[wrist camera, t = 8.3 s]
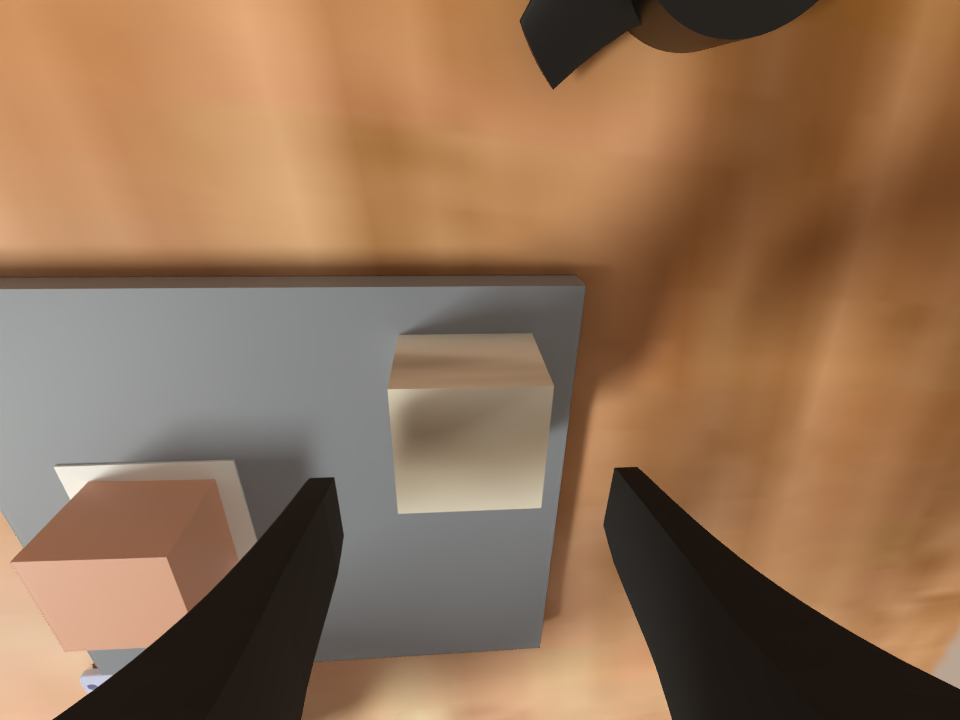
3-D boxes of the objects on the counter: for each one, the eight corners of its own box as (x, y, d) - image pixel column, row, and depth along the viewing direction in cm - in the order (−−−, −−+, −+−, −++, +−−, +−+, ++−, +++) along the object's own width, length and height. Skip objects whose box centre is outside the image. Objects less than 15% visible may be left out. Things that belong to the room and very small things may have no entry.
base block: (238, 561, 20) (200, 645, 17) (125, 565, 20) (64, 651, 17) (215, 479, 18) (166, 557, 15) (88, 481, 18) (9, 562, 14)
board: (535, 626, 26) (540, 649, 25) (116, 650, 24) (100, 677, 23) (576, 274, 17) (586, 286, 15) (-95, 277, 15) (-139, 291, 14)
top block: (523, 440, 18) (541, 508, 15) (405, 443, 18) (397, 514, 15) (532, 333, 16) (554, 385, 13) (398, 334, 16) (387, 389, 13)
